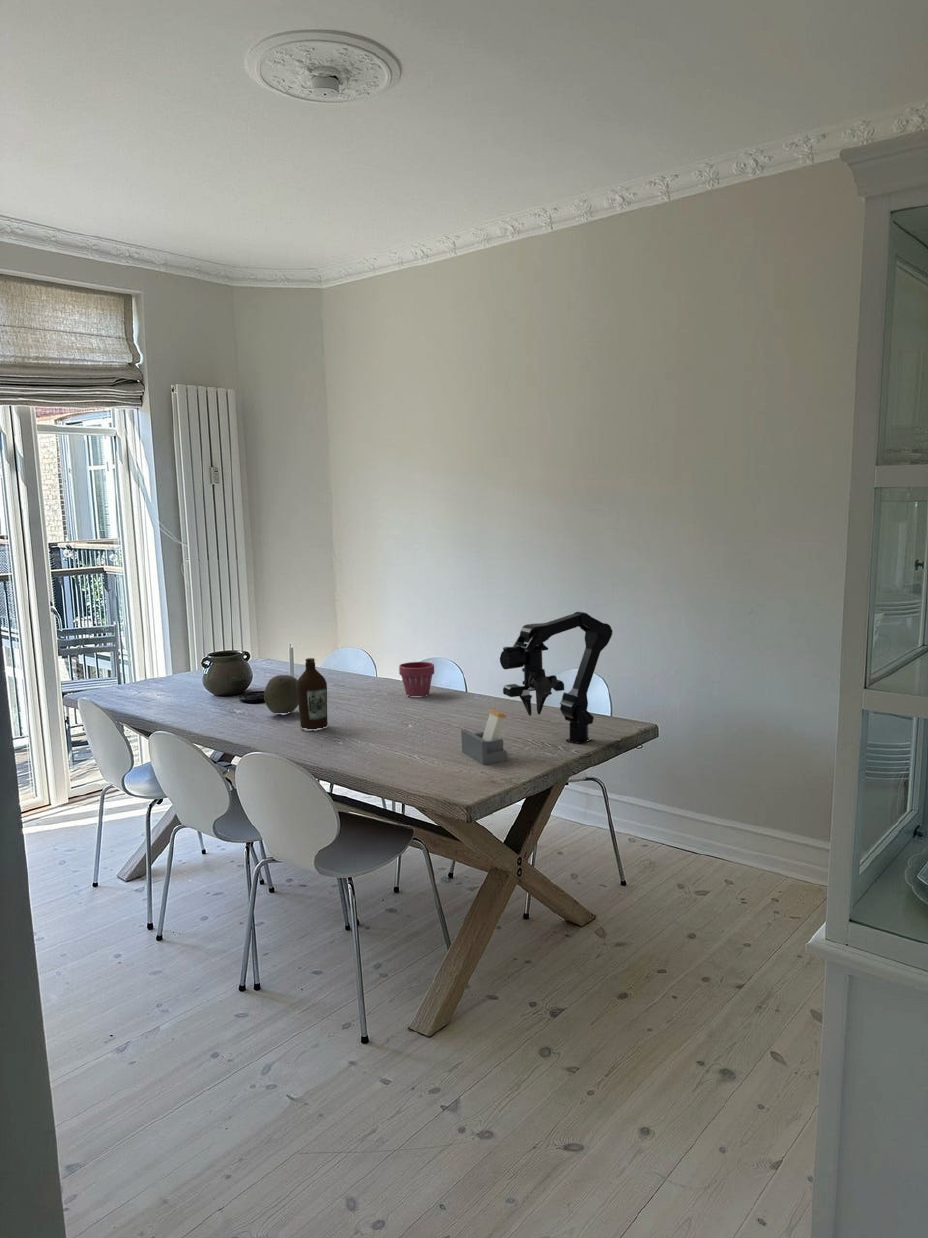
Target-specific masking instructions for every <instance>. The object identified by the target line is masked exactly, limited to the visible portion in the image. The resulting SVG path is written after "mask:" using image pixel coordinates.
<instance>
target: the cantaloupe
mask: <svg viewBox="0 0 928 1238" xmlns="http://www.w3.org/2000/svg"><path fill="white" fill-rule="evenodd" d="M297 681H298V678H296V677H294V676H292V675H287V674H280V675H279V674H278V675H275V676H273V677H271V679H269V681H268V682H267V683H266V686H265V689H264V692H263V693H264V694H263V701H264V703H265V705H266V707H267V709H268V710H269V711H270V712H272V714H275V713H288V712H291V713H292V711H293V712H294V711H295V710H296V709H297V707H299V705H298V697H297V689H296V685H297Z"/></svg>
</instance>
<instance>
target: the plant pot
mask: <svg viewBox="0 0 928 1238" xmlns="http://www.w3.org/2000/svg"><path fill="white" fill-rule="evenodd" d="M398 667H399V669H398V671H399V672H398V673H399V676H401V678H402V682H403V683H402V684H403V686H404V687H403V688H404V691H405V694H406V696H407V695H409V696H426V695H428V694H429V695H430V690H431V685H432V684H431V683H432V678H433V675H434V674H435V664H434V663H432V662H428V661H427V662H426V661H411V662H410V661H409V662H405V663H401V664H399V666H398ZM429 695H428V696H429ZM426 697H427V696H426Z"/></svg>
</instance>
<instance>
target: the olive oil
mask: <svg viewBox="0 0 928 1238" xmlns="http://www.w3.org/2000/svg"><path fill="white" fill-rule="evenodd" d="M304 660H305V664H304V665H305V670H304V671H303V673H302V674H301V675H300V676H299V678H297V680H298V681H297V685H296V689H297V697H298V713H299V725H300V728H301V727H302V728H307V729H317V728H323V727H326V726H327V725H329V724H328V723H329V722H328V684H327V681H326V678H325V677H324V676H323V675H322V674H321V673H320V672H319V671H318V670H317V669H316V659H315V658H314V657H309V658H305V659H304Z"/></svg>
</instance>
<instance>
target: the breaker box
mask: <svg viewBox="0 0 928 1238" xmlns="http://www.w3.org/2000/svg"><path fill="white" fill-rule="evenodd" d="M460 731H461V733H460V735H461V751H462V753H464V754H466V755H468V756H469V758H472V759H473V760H475V761H476V762H478V763H479V764H481V765H489V764H495V763H496V764H497V763H501V762H508V751H507V750H506V749H504V739H503V738H498V739H495V740H488V741H485V740H484V739H482V737H483V734H484V731H479V732H472V731H470V730H468V729H467V728H463V729H460Z"/></svg>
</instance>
